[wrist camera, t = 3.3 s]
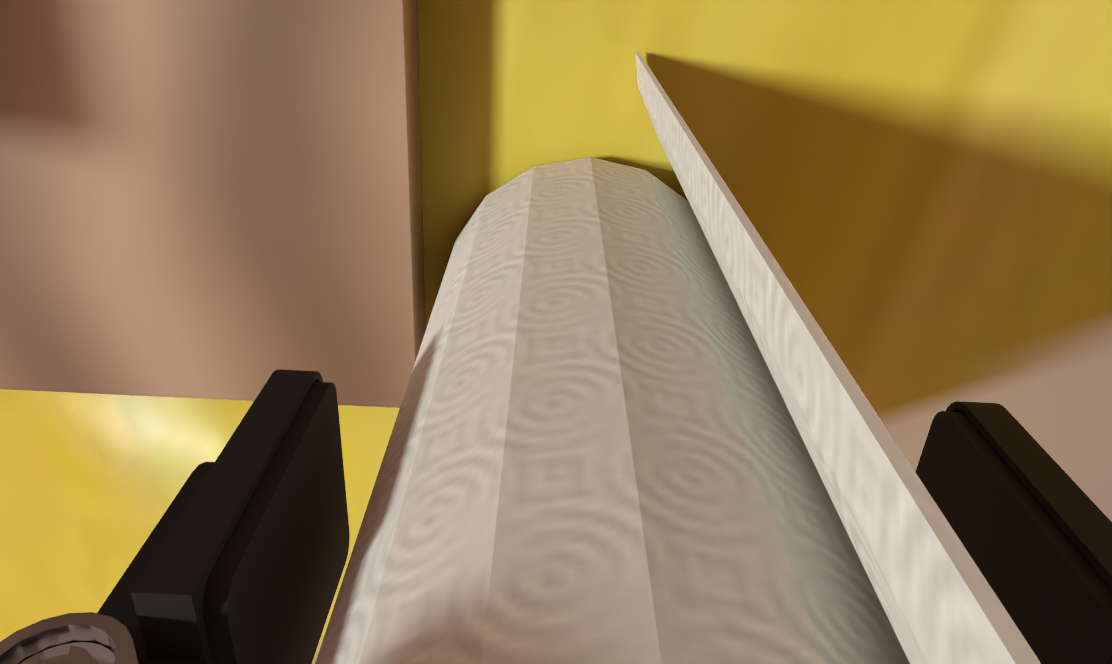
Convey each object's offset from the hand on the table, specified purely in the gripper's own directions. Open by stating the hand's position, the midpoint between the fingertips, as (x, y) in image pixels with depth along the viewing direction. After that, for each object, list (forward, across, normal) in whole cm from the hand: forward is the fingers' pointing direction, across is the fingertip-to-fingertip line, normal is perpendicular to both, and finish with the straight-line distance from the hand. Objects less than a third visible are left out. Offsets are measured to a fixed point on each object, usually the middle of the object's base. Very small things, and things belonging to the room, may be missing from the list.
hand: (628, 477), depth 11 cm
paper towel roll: (+8, 0, 0) cm, 8 cm away
